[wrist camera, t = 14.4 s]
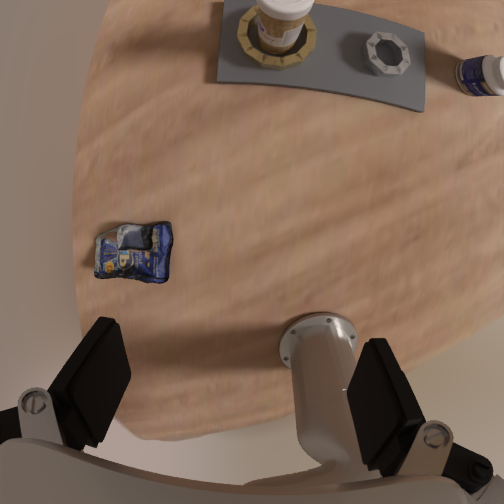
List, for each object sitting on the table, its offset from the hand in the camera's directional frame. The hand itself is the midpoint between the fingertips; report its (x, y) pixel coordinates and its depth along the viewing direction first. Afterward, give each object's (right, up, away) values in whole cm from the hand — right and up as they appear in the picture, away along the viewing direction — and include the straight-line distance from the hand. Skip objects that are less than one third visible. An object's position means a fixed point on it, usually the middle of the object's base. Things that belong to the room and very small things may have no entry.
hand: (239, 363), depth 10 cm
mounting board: (+10, +29, +18) cm, 36 cm away
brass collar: (+3, +29, +17) cm, 34 cm away
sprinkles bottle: (+3, +29, +17) cm, 34 cm away
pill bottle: (+32, +29, +18) cm, 47 cm away
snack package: (-15, +5, +30) cm, 34 cm away
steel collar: (+16, +28, +17) cm, 36 cm away
